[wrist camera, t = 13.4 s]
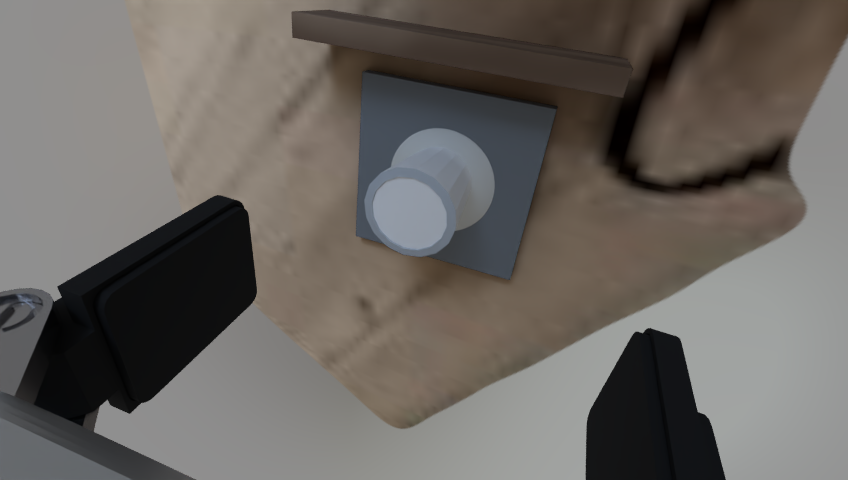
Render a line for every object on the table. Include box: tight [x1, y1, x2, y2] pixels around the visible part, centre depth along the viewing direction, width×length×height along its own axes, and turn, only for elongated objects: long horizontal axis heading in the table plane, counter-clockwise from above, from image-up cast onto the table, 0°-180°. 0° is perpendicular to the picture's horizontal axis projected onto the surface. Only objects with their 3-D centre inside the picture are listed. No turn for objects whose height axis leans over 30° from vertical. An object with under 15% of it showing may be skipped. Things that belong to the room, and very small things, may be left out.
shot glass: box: [364, 147, 471, 257], centre depth 33 cm, size 7×7×7 cm
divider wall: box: [292, 10, 633, 98], centre depth 29 cm, size 2×22×5 cm, turn 83°
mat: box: [356, 70, 557, 280], centre depth 36 cm, size 15×15×1 cm
